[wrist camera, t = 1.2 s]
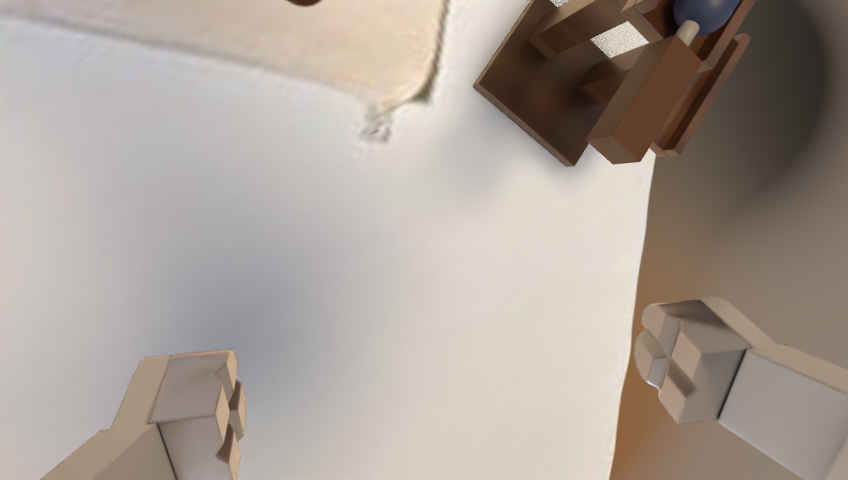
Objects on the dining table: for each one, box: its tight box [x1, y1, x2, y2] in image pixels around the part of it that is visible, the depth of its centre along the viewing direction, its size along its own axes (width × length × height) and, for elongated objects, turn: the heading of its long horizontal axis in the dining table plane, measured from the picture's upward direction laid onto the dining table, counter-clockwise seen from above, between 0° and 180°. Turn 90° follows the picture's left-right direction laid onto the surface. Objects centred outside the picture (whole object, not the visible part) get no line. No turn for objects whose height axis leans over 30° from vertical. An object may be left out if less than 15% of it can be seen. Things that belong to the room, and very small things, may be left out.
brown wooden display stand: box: [473, 0, 755, 167], centre depth 45 cm, size 12×14×26 cm
